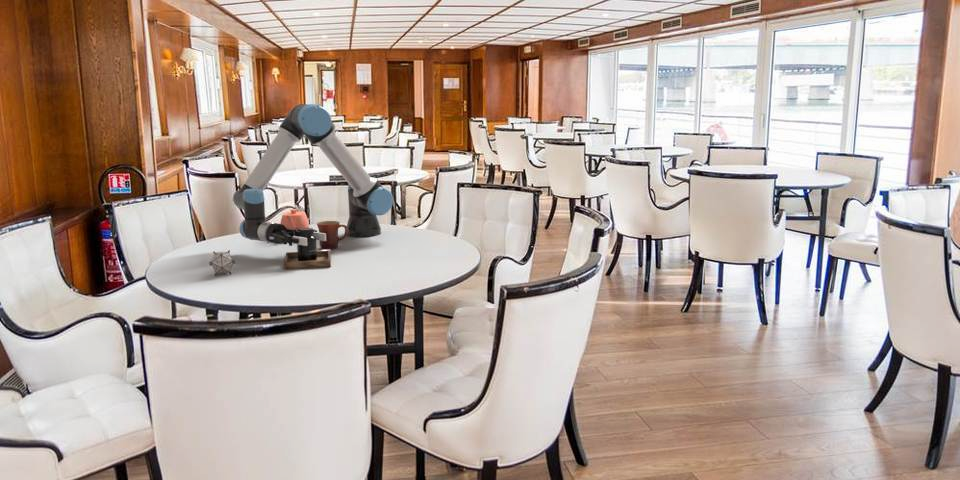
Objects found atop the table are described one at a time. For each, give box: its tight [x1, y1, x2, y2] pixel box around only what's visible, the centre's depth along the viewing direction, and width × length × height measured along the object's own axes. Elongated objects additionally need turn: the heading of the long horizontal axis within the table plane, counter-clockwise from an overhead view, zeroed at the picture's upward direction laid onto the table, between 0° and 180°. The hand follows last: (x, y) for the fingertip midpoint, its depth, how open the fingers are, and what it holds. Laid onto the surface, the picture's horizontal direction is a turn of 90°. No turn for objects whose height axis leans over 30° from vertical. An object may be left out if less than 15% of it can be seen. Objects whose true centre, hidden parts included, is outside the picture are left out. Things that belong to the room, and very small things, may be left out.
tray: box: [283, 250, 332, 270], centre depth 257 cm, size 16×16×2 cm
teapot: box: [279, 208, 310, 236], centre depth 300 cm, size 20×12×12 cm, turn 2°
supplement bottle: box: [296, 227, 318, 261], centre depth 255 cm, size 7×7×12 cm
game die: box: [208, 250, 236, 276], centre depth 241 cm, size 9×8×10 cm
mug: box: [316, 220, 348, 250], centre depth 280 cm, size 12×9×10 cm
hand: (316, 239), depth 252 cm, fingers open, 8 cm apart
